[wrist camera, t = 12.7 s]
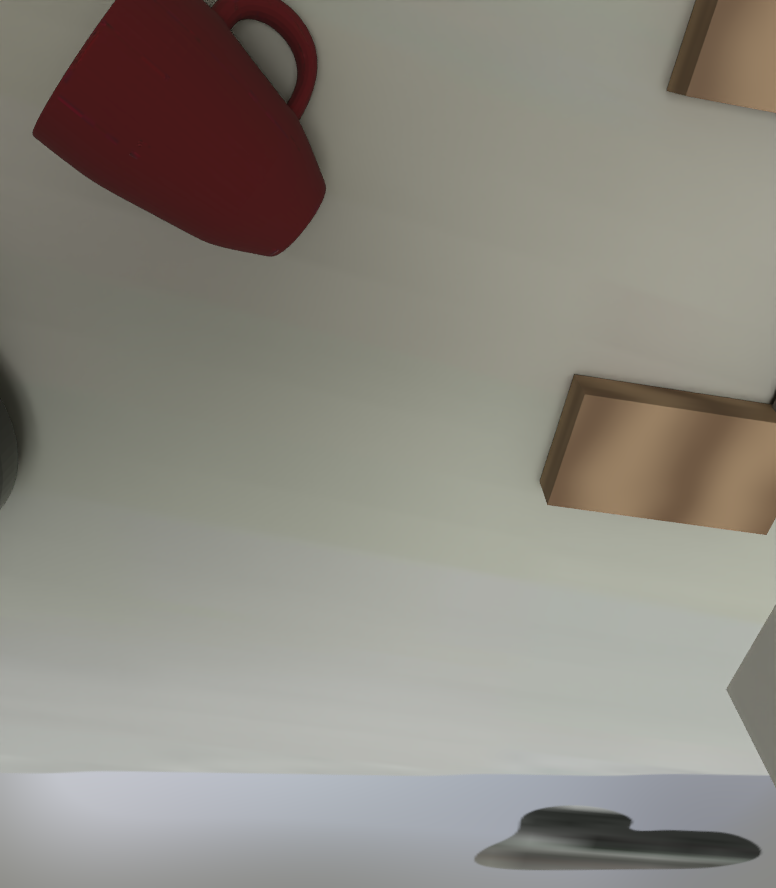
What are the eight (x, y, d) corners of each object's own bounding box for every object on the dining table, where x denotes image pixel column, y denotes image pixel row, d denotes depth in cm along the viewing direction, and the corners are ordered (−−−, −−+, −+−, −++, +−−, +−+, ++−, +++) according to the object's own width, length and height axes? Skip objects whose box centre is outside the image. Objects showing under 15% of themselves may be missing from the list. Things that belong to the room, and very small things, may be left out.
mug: (332, 129, 37) (161, -34, 32) (416, 79, 30) (215, -138, 25) (222, 300, 35) (23, 156, 30) (285, 290, 28) (41, 100, 23)
